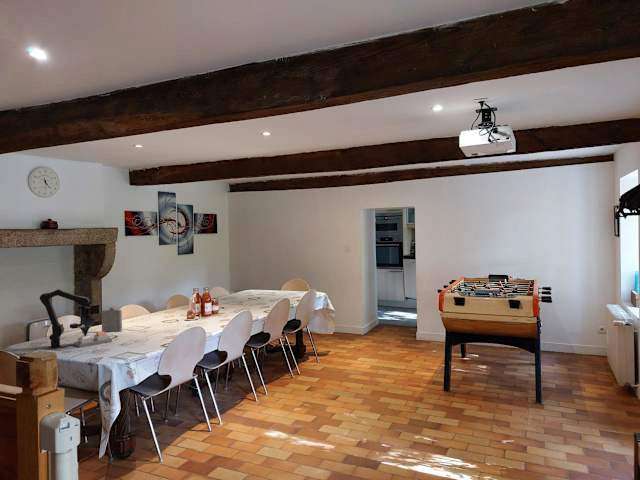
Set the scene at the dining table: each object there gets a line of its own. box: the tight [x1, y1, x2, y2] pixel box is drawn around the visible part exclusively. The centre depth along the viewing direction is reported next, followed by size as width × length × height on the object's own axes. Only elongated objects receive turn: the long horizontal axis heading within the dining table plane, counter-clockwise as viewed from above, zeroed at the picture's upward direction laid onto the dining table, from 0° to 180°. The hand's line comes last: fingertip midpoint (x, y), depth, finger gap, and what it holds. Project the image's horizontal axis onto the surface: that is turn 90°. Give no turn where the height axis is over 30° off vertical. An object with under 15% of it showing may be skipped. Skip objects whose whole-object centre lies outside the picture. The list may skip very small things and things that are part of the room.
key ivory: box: [79, 334, 91, 339], centre depth 324 cm, size 5×5×3 cm
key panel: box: [73, 333, 113, 348], centre depth 328 cm, size 12×22×5 cm, turn 137°
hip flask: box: [101, 306, 123, 333], centre depth 367 cm, size 16×4×20 cm, turn 93°
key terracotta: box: [95, 331, 107, 336], centre depth 332 cm, size 5×5×3 cm
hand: (85, 336), depth 324 cm, fingers closed, pressing on key ivory
